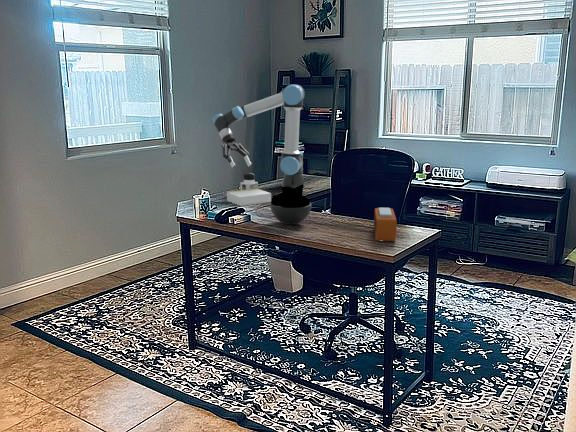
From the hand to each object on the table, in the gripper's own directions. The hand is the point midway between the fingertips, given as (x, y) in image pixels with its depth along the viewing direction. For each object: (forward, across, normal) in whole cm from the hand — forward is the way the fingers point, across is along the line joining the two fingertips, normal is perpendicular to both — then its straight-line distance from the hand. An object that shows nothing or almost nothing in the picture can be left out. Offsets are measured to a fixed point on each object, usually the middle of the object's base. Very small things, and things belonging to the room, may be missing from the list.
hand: (241, 165), depth 342 cm
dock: (+26, +13, +4) cm, 30 cm away
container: (+18, 0, -5) cm, 18 cm away
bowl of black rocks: (+60, +35, +43) cm, 81 cm away
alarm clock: (+87, +22, +78) cm, 119 cm away
